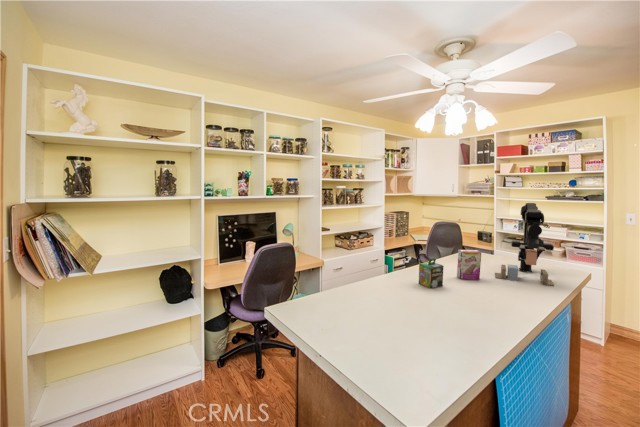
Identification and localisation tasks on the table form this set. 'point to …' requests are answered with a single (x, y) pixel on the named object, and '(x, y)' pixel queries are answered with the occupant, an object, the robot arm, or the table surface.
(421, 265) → the chalk box
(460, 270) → the candy bar box
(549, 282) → the bookend slide
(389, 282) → the table surface
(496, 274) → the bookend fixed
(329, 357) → the table surface
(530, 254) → the rust book
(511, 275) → the blue book
